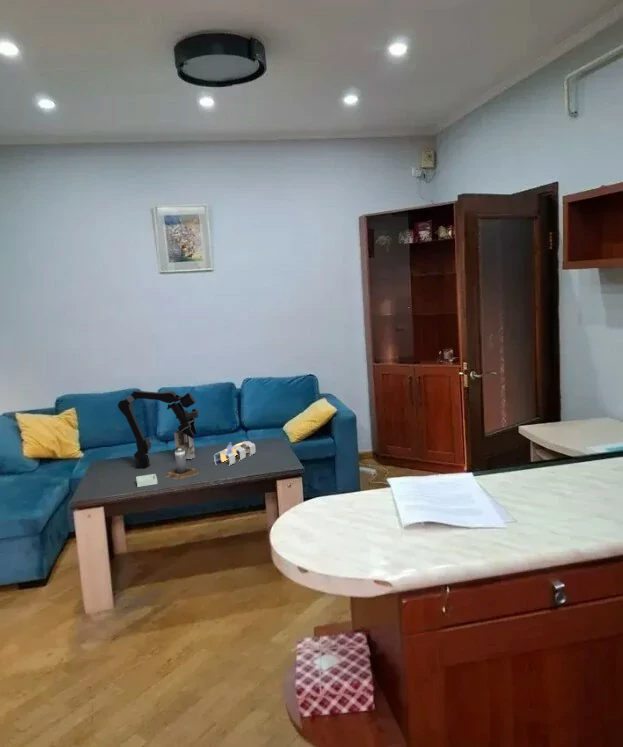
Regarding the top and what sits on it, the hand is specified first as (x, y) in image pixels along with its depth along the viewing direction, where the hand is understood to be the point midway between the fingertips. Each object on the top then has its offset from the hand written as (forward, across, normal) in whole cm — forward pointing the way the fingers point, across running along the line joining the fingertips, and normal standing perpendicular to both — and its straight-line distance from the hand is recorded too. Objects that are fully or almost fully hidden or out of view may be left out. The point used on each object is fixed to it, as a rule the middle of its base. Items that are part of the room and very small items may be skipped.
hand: (194, 436), depth 327 cm
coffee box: (+10, +12, +15) cm, 21 cm away
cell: (+12, -22, +10) cm, 27 cm away
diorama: (+24, +2, -12) cm, 27 cm away
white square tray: (+5, -31, +25) cm, 40 cm away
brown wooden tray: (+12, -22, +11) cm, 27 cm away
